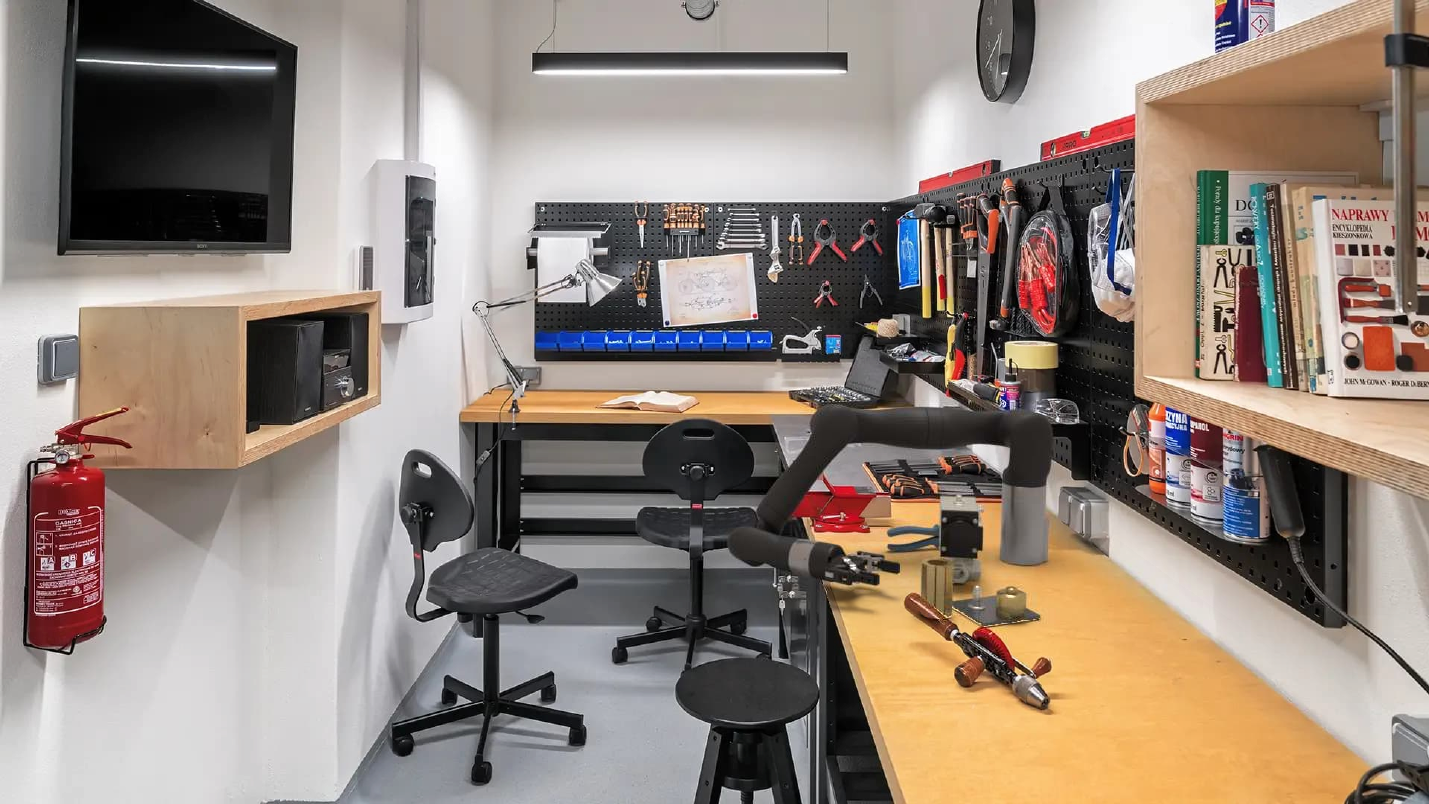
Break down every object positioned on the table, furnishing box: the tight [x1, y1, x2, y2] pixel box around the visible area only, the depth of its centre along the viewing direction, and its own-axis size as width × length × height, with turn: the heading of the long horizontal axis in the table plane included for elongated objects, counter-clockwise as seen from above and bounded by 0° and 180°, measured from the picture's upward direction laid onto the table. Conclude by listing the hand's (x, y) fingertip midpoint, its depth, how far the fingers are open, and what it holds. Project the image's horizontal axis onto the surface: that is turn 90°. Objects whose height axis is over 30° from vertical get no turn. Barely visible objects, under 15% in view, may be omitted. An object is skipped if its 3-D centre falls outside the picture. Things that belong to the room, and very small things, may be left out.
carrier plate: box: [952, 585, 1042, 627], centre depth 175 cm, size 12×12×5 cm
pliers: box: [886, 523, 940, 553], centre depth 216 cm, size 20×2×6 cm, turn 99°
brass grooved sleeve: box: [920, 557, 954, 617], centre depth 174 cm, size 6×6×10 cm
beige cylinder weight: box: [996, 585, 1027, 620], centre depth 172 cm, size 5×5×5 cm
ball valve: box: [938, 494, 985, 584], centre depth 194 cm, size 18×8×18 cm, turn 168°
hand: (889, 574), depth 180 cm, fingers open, 8 cm apart
